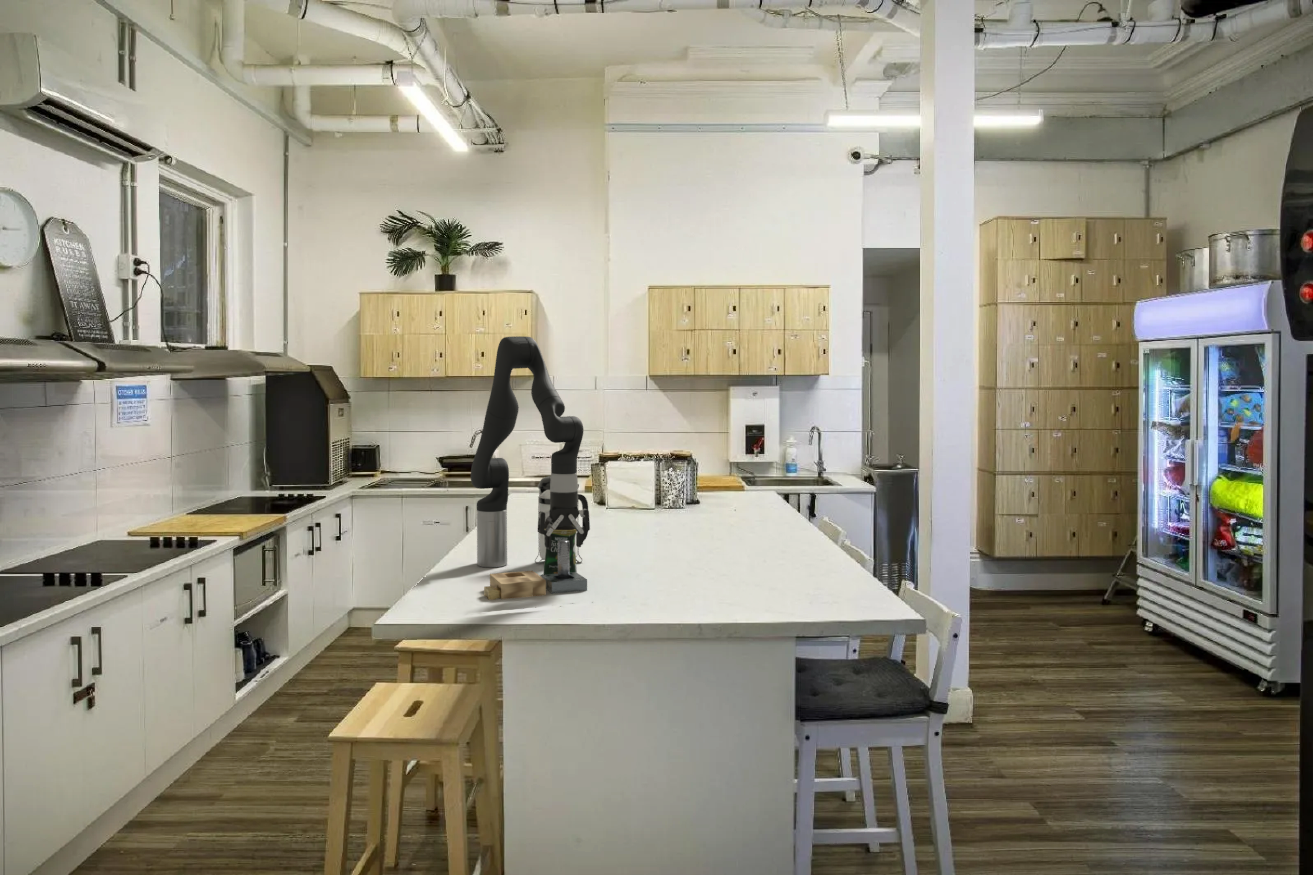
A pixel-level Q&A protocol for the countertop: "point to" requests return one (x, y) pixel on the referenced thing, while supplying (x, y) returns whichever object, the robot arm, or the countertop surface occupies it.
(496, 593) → the block
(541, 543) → the coffee press
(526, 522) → the countertop surface
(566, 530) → the coffee jar
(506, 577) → the socket block
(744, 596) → the countertop surface
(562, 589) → the grey square holed block
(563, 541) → the cylinder
